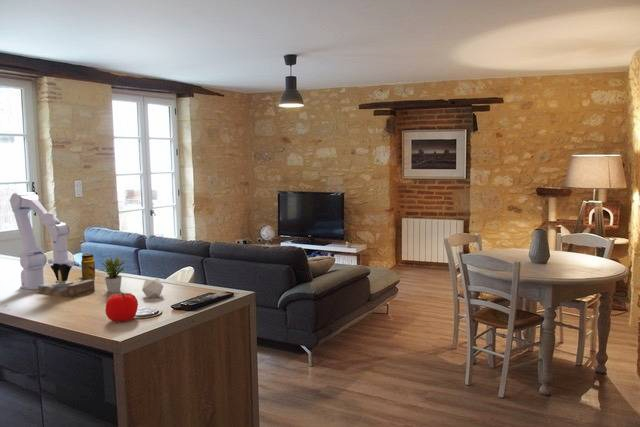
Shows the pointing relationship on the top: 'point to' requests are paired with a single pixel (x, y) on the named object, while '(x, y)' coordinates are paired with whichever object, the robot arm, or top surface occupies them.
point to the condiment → (87, 267)
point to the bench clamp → (68, 289)
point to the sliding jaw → (61, 282)
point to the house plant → (113, 274)
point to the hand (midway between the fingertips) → (62, 280)
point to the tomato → (121, 307)
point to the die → (152, 287)
